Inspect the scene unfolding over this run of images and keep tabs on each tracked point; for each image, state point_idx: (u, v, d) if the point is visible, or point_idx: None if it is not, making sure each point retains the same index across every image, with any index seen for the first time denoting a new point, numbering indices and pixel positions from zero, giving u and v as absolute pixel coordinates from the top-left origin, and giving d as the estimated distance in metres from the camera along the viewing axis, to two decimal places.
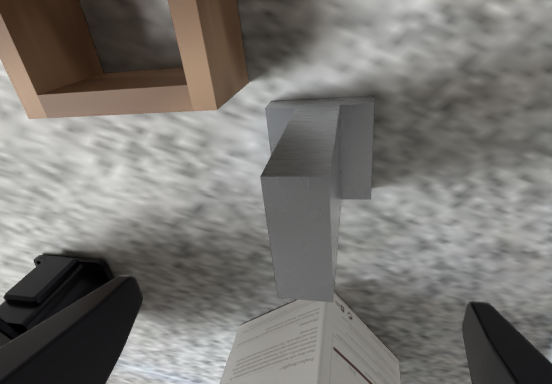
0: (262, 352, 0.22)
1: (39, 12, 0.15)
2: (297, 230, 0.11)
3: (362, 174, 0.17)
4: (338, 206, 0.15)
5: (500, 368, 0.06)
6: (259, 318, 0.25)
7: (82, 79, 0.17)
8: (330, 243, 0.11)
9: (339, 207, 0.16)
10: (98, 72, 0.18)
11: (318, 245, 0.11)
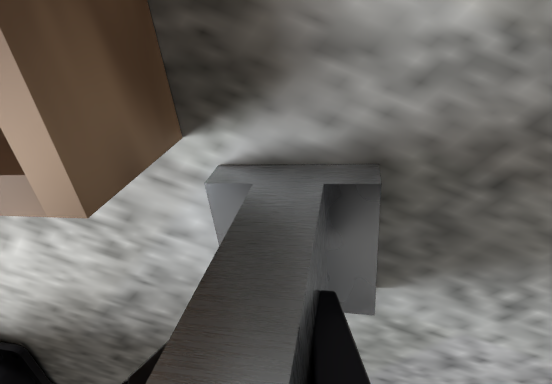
0: None
1: None
2: None
3: (361, 282, 0.11)
4: None
5: (313, 346, 0.07)
6: None
7: None
8: None
9: None
10: None
11: None
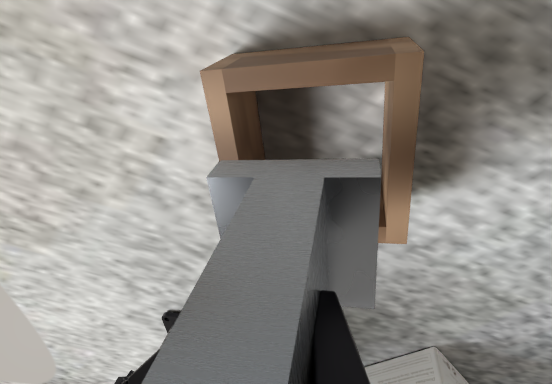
0: None
1: (250, 157, 0.18)
2: None
3: (361, 276, 0.11)
4: None
5: (313, 347, 0.07)
6: (365, 369, 0.29)
7: None
8: None
9: None
10: None
11: None
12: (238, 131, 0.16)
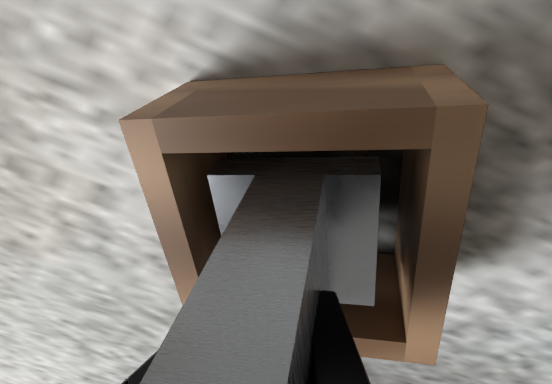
0: None
1: (213, 228, 0.13)
2: None
3: (361, 273, 0.11)
4: None
5: None
6: None
7: None
8: None
9: None
10: None
11: None
12: (188, 202, 0.11)
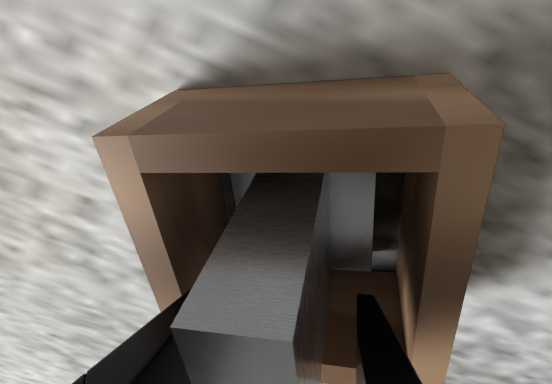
0: None
1: (201, 248, 0.12)
2: None
3: (359, 241, 0.12)
4: (324, 298, 0.10)
5: (358, 352, 0.07)
6: None
7: None
8: None
9: (327, 292, 0.11)
10: None
11: None
12: (172, 223, 0.10)
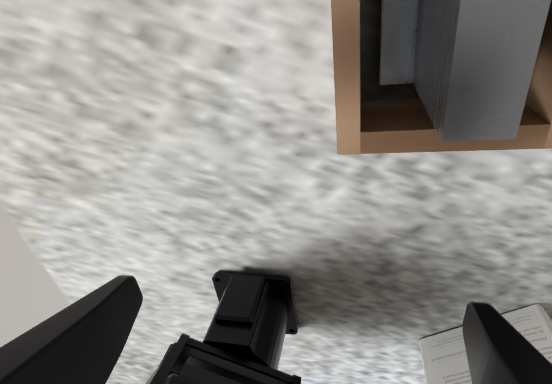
0: None
1: None
2: (497, 28, 0.09)
3: None
4: None
5: (500, 368, 0.06)
6: (448, 333, 0.26)
7: (360, 110, 0.17)
8: (538, 43, 0.09)
9: None
10: (360, 101, 0.18)
11: (520, 49, 0.09)
12: None
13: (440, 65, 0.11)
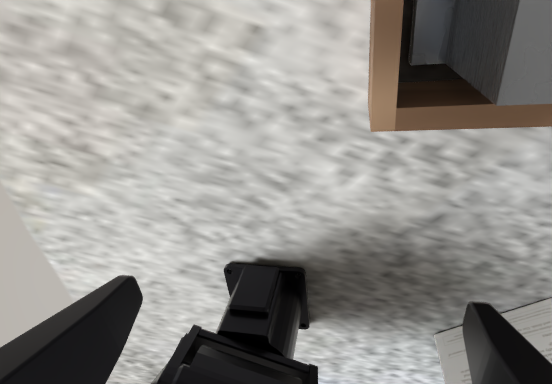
0: None
1: None
2: None
3: None
4: None
5: (500, 368, 0.06)
6: None
7: None
8: None
9: None
10: None
11: None
12: None
13: (494, 29, 0.10)
